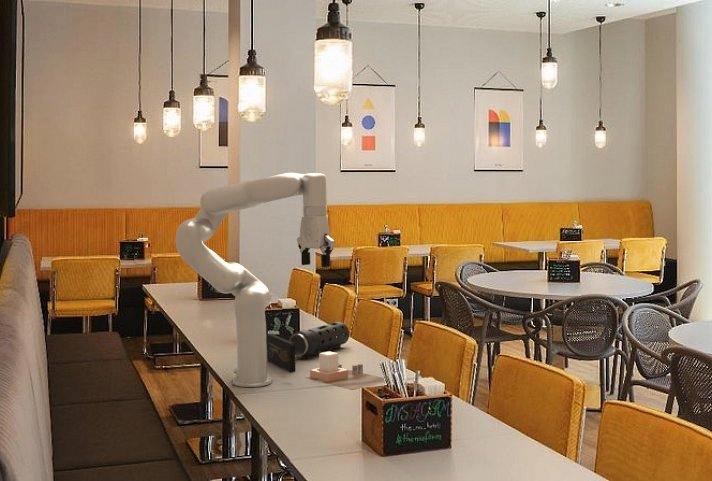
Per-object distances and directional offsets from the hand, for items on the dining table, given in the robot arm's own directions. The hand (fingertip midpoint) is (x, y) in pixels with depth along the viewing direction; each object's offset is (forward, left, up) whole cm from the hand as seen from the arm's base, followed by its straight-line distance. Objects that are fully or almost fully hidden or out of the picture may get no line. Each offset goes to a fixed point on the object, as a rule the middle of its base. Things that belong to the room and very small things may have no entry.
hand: (315, 265), depth 284 cm
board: (+5, +9, -38) cm, 40 cm away
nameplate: (-29, +8, -39) cm, 49 cm away
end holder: (-1, +6, -38) cm, 39 cm away
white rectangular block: (-1, +6, -37) cm, 38 cm away
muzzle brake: (-36, +32, -39) cm, 62 cm away
